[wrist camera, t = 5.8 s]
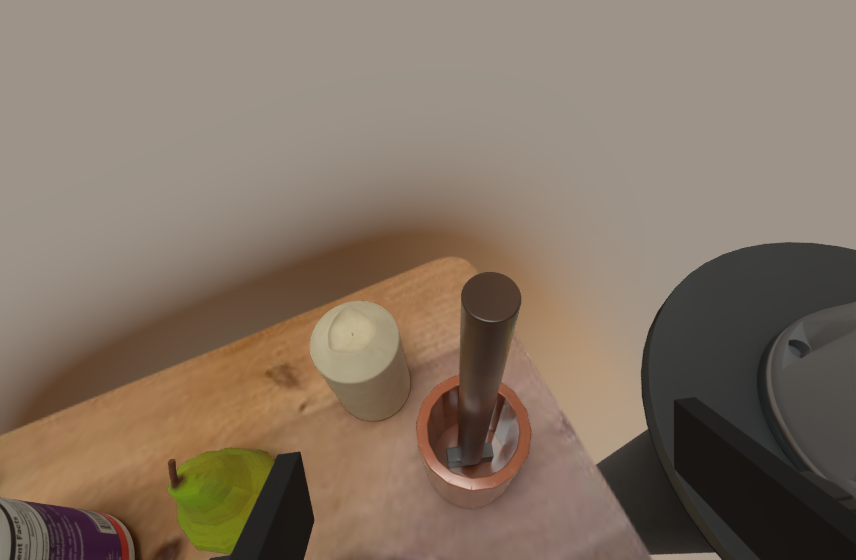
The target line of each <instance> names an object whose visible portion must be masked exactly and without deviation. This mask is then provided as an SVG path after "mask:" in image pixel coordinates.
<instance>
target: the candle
mask: <svg viewBox="0 0 856 560" xmlns="http://www.w3.org/2000/svg"><path fill="white" fill-rule="evenodd" d="M310 354H311V358H312V361H313V363H314V364H315V366H316V368H317V369H318V370H319V372H320V373H321V375H322V376H323V378H324V379H325V380H326V382H327V383H328V385H329V386H330V387H331V389H332V390H333V392H334V393H335V394H336V396H337V397H338V399H339V400H340V401H341V403H342V404H343V406H344V407H345V408H346V409H347V410H348V411H349V412H350V413H351V414H352V415H353V416H355V417H357V418H359V419H362V420H366V421H380V420H383V419H386V418H389V417H391V416H392V415H394V414H395V413H396V412H398V411H399V410H400V409H401V407H402V406H403V405H404V403H405V402H406V400H407V397H408V395H409V391H410V376H409V371H408V367H407V363H406V359H405V354H404V350H403V346H402V342H401V338H400V334H399V330H398V327H397V324H396V322H395V320H394V318H393V317H392V315H391V314H390V313H389V312H388V311H387V310H386V309H384V308H383V307H381V306H380V305H377V304H375V303H372V302H367V301H352V302H347V303H343V304H341V305H338V306H336V307H335V308H333V309H331V310H330V311H328V312H327V313H326V314H325V315H324V316H323V317H322V318H321V319H320V320H319V322H318V323H317V324H316V326H315V328H314V330H313V332H312V335H311V339H310Z"/></svg>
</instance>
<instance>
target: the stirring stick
mask: <svg viewBox="0 0 856 560" xmlns="http://www.w3.org/2000/svg"><path fill="white" fill-rule="evenodd" d="M520 305H521V293H520V290H519V289H518V287H517V285H516V284H515V283H514V282H513V281H512V280H511V279H510V278H508V277H507V276H505V275H502V274H500V273H495V272H485V273H480V274H478V275H475V276H474V277H472V278H471V279H469V280H468V281H467V283H466V284H465V285H464V287H463V290H462V293H461V326H460V368H459V410H458V447H453V448H446V454H447V462H448V468H453V467H461V466H468V465H476V464H483V463H491V462H492V460H493V457H494V454H493V449H492V443H491V442H490V443H485V442H486V438H487V434H488V430H489V426H490V423H491V419H492V415H493V411H494V407H495V403H496V399H497V395H498V391H499V387H500V383H501V380H502V376H503V372H504V368H505V364H506V360H507V356H508V352H509V348H510V344H511V340H512V337H513V333H514V329H515V325H516V320H517V317H518V313H519V309H520Z"/></svg>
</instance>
